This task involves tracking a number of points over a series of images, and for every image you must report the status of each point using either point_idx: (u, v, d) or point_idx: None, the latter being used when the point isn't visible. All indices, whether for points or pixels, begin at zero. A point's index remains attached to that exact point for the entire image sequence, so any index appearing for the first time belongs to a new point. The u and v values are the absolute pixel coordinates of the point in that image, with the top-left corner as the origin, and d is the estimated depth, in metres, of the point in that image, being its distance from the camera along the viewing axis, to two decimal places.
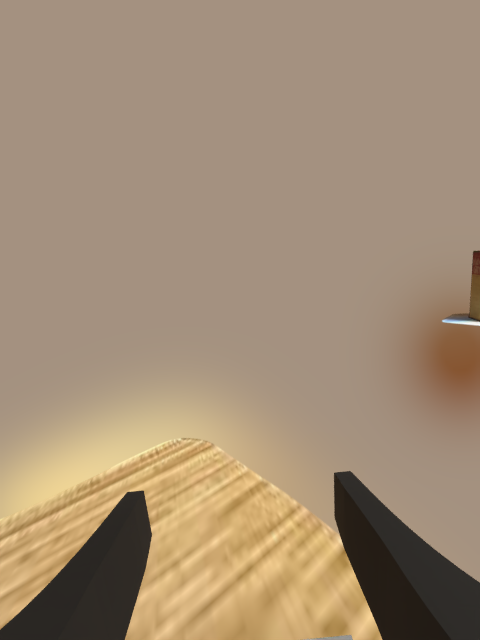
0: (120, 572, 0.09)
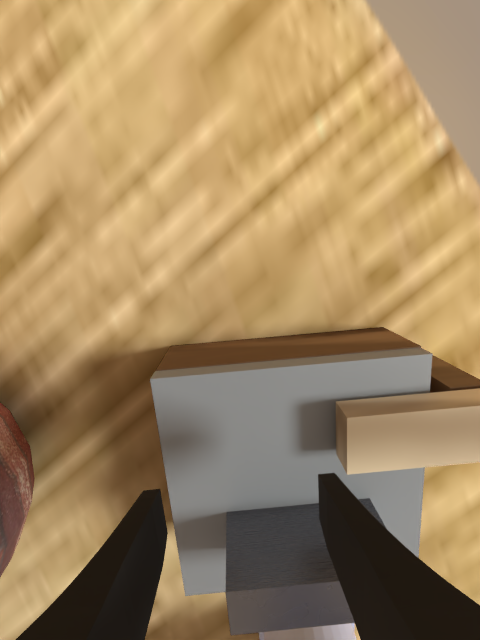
0: (140, 570, 0.09)
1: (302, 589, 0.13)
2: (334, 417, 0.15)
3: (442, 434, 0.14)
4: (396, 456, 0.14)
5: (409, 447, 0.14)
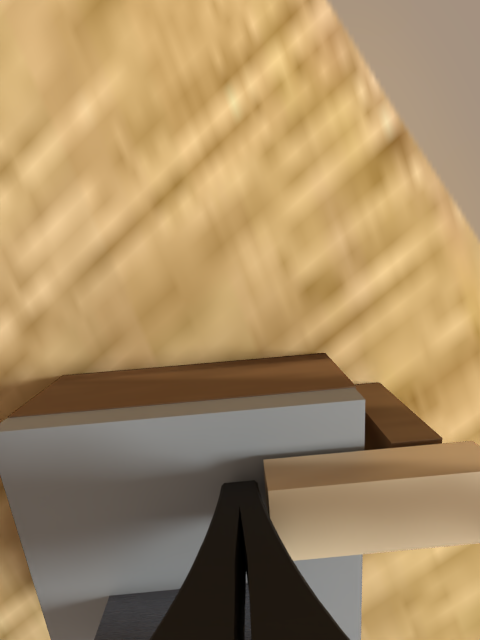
0: (240, 561, 0.09)
1: None
2: (240, 480, 0.12)
3: (400, 511, 0.10)
4: (338, 539, 0.10)
5: (356, 528, 0.10)
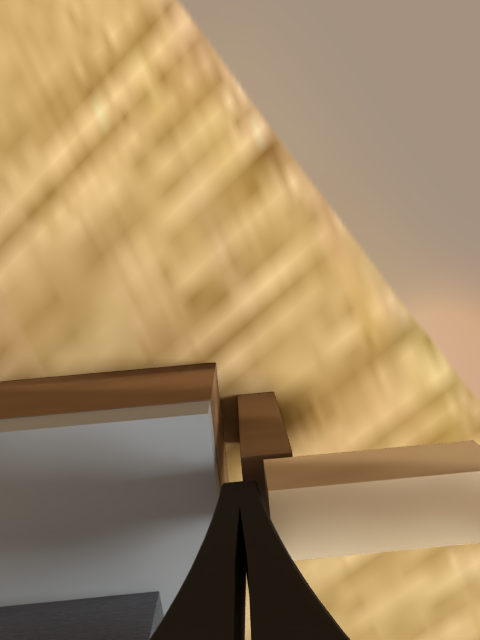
0: (240, 561, 0.09)
1: None
2: (90, 494, 0.12)
3: (400, 511, 0.10)
4: (339, 539, 0.10)
5: (356, 527, 0.10)
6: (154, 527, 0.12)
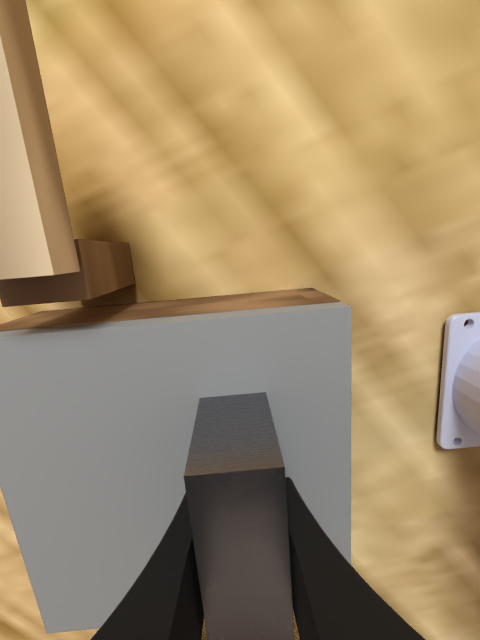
0: None
1: (213, 618, 0.08)
2: (70, 455, 0.12)
3: None
4: (5, 187, 0.08)
5: None
6: (108, 399, 0.11)
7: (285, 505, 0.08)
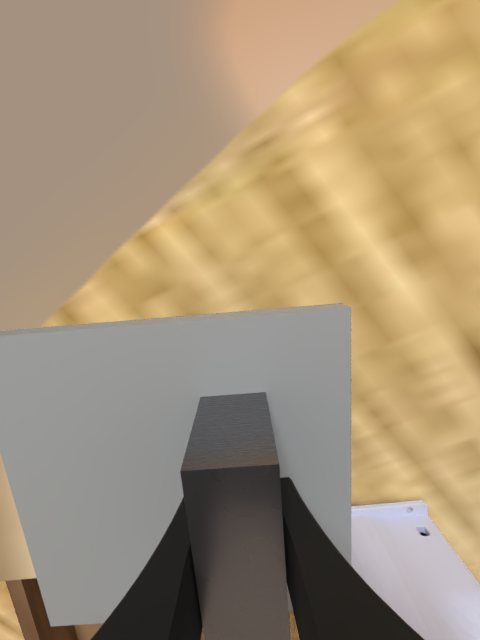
0: None
1: (209, 614, 0.09)
2: (75, 451, 0.12)
3: None
4: (19, 543, 0.16)
5: (8, 535, 0.16)
6: (112, 396, 0.11)
7: (280, 502, 0.08)
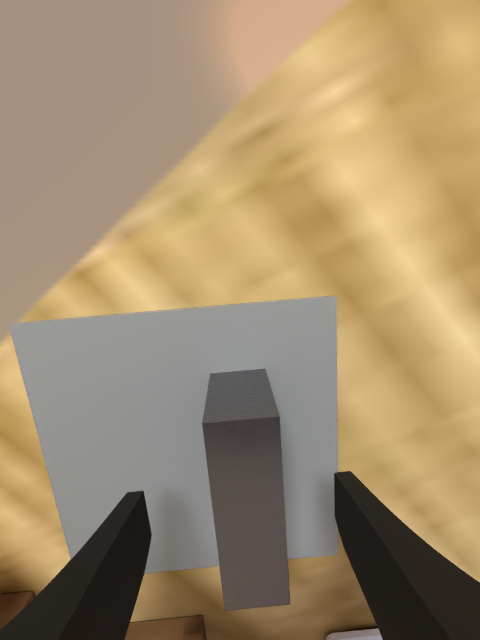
0: (120, 572, 0.09)
1: (223, 541, 0.11)
2: (101, 422, 0.14)
3: None
4: None
5: None
6: (134, 373, 0.13)
7: (280, 447, 0.10)
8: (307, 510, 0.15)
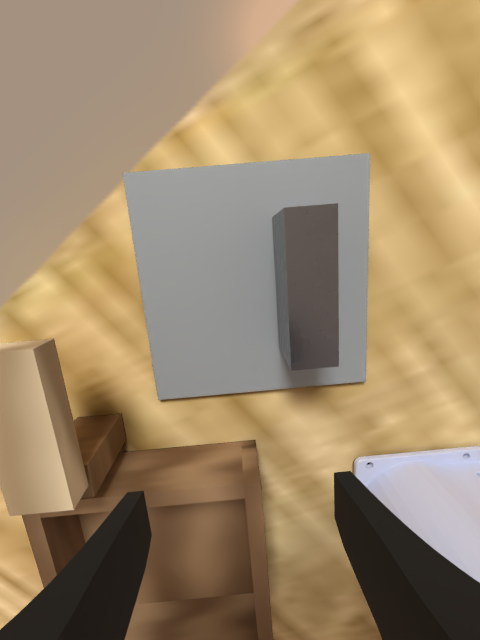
0: (120, 572, 0.09)
1: (293, 309, 0.15)
2: (186, 258, 0.18)
3: (13, 429, 0.13)
4: (47, 468, 0.14)
5: (34, 458, 0.13)
6: (214, 216, 0.17)
7: (337, 228, 0.14)
8: (342, 340, 0.19)
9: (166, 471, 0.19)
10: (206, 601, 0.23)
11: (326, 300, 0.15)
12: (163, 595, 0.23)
